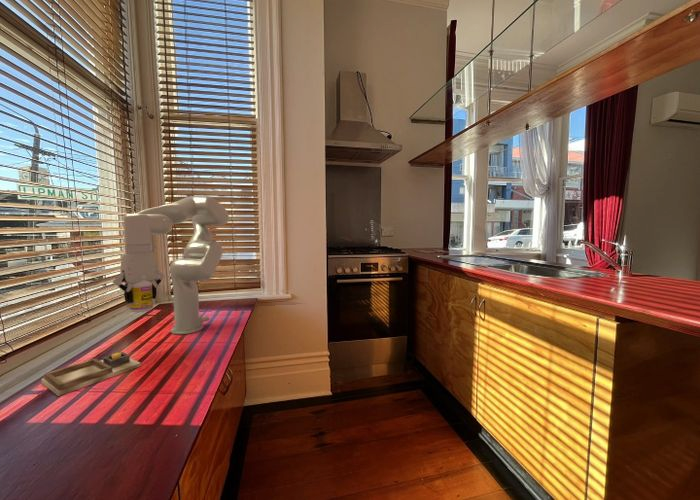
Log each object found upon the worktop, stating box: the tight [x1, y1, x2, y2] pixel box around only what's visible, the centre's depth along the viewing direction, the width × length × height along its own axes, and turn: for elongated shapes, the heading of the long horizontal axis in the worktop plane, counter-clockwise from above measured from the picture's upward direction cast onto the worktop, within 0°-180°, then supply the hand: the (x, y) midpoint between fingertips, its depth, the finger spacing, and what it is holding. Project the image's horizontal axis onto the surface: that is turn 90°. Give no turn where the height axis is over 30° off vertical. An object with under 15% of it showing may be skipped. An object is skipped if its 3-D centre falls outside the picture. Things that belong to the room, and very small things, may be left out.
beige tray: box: [41, 351, 142, 397], centre depth 92 cm, size 20×13×3 cm, turn 150°
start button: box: [111, 352, 121, 360], centre depth 97 cm, size 2×2×3 cm
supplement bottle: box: [129, 275, 154, 314], centre depth 105 cm, size 7×7×13 cm
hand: (141, 299), depth 105 cm, fingers closed on supplement bottle, 6 cm apart
